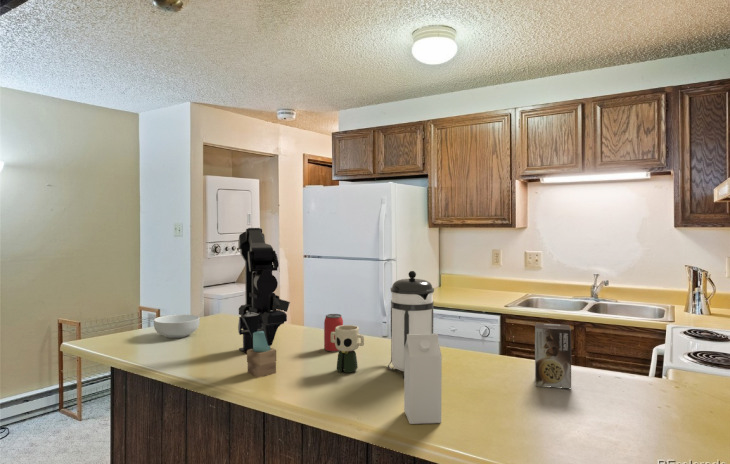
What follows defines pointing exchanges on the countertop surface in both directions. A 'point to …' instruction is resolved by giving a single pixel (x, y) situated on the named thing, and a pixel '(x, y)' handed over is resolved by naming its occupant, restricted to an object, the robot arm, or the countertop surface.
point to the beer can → (331, 330)
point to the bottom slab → (262, 369)
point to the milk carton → (422, 378)
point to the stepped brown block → (261, 357)
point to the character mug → (347, 346)
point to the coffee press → (409, 314)
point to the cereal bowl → (176, 325)
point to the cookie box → (552, 355)
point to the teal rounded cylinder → (260, 342)
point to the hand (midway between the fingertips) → (262, 342)
